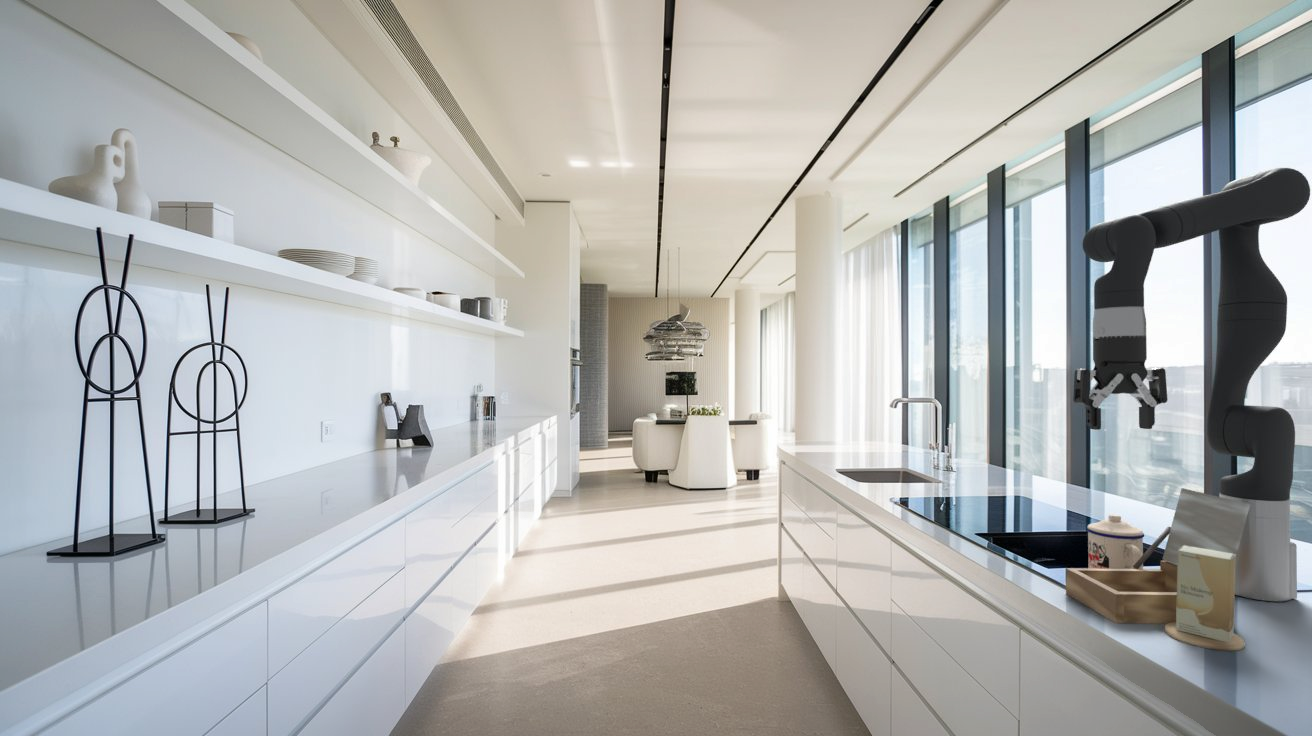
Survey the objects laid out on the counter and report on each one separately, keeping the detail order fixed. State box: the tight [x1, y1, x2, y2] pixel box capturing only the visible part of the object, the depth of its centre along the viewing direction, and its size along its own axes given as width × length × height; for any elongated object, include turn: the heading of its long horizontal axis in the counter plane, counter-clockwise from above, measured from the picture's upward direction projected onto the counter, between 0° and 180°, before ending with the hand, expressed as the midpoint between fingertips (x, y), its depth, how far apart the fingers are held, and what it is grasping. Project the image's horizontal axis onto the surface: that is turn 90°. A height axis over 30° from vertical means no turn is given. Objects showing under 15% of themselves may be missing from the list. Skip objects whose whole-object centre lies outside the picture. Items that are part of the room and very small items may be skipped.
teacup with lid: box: [1086, 514, 1145, 569], centre depth 124 cm, size 12×9×12 cm
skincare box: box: [1176, 545, 1236, 643], centre depth 96 cm, size 6×4×12 cm
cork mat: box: [1164, 622, 1245, 652], centre depth 96 cm, size 9×9×1 cm
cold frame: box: [1065, 487, 1250, 625], centre depth 109 cm, size 21×14×19 cm
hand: (1120, 429), depth 112 cm, fingers open, 8 cm apart
